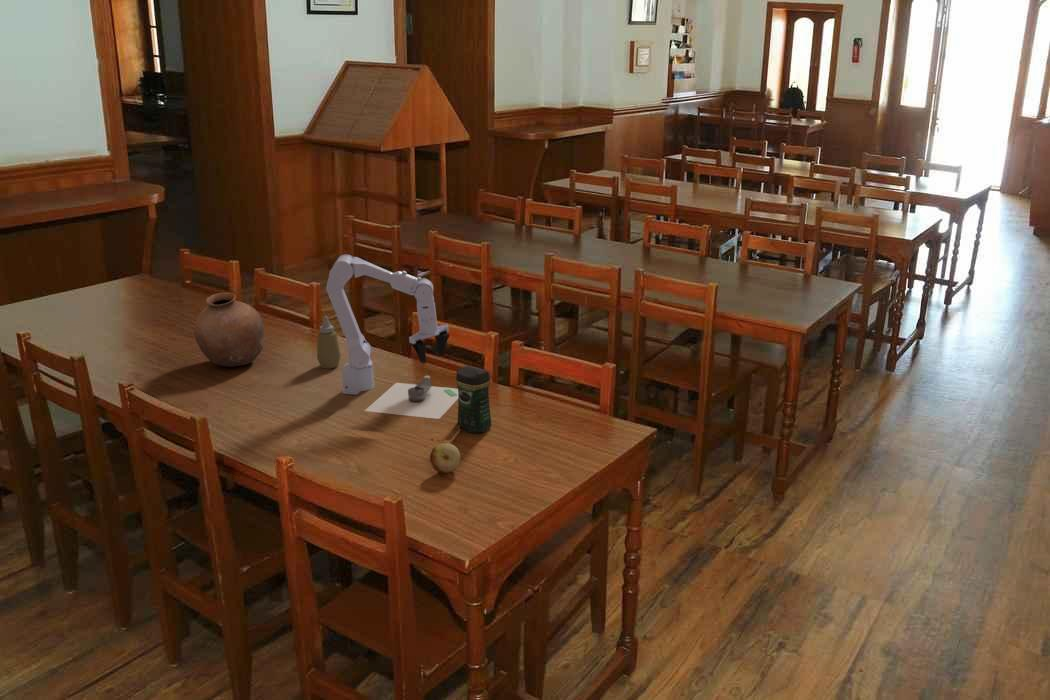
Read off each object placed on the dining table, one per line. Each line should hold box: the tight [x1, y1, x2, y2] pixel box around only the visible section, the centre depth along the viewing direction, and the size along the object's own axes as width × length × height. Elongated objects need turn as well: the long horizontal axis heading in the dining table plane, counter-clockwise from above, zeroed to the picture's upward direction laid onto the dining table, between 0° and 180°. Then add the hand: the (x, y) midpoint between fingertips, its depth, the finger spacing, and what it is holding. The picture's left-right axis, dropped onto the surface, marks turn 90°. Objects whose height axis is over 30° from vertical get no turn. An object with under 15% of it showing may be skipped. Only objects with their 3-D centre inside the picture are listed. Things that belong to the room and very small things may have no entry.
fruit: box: [429, 442, 461, 474], centre depth 250 cm, size 8×8×8 cm
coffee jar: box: [455, 364, 492, 434], centre depth 275 cm, size 10×8×19 cm
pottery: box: [193, 292, 265, 368], centre depth 327 cm, size 23×23×25 cm
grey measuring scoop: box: [408, 375, 432, 402], centre depth 297 cm, size 12×5×4 cm, turn 164°
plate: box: [364, 382, 458, 420], centre depth 294 cm, size 24×24×2 cm
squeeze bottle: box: [316, 315, 342, 370], centre depth 324 cm, size 8×8×18 cm
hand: (432, 358), depth 303 cm, fingers open, 7 cm apart
